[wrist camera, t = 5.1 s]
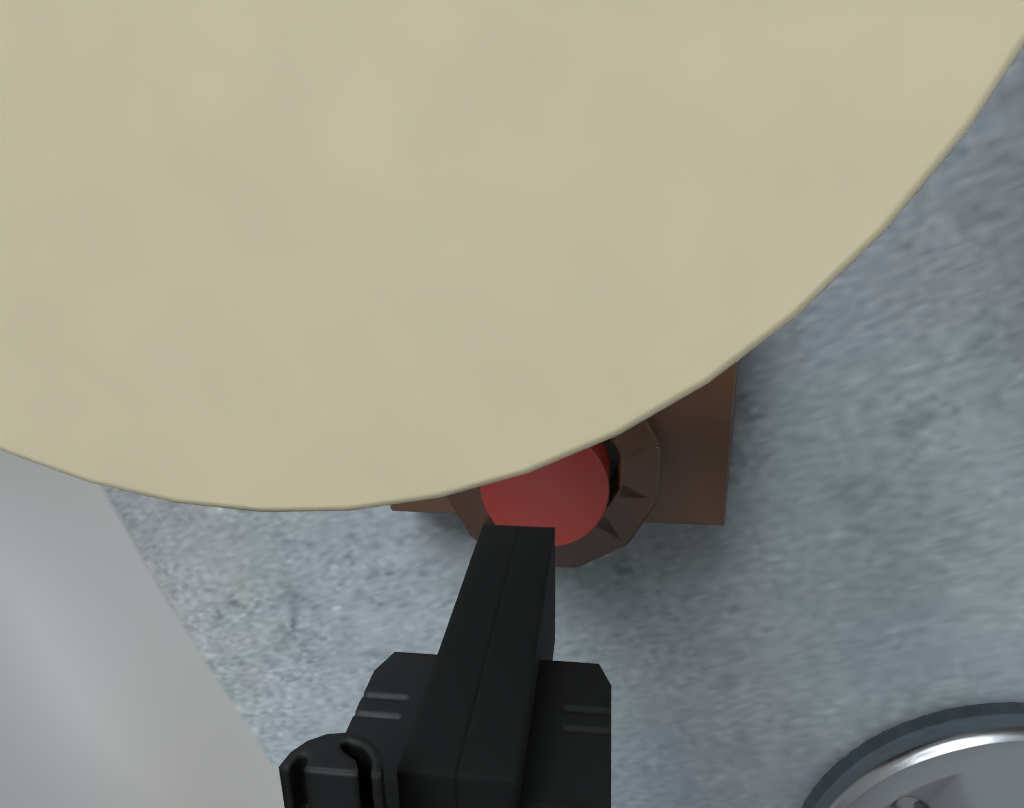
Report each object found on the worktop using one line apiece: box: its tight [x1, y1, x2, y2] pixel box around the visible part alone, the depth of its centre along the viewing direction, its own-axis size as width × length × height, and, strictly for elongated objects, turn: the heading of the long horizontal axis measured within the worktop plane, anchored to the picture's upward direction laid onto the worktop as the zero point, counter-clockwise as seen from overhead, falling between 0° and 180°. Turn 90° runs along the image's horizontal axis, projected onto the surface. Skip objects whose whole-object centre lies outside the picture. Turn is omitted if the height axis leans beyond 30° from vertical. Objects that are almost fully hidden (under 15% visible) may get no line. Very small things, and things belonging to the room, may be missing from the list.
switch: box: [480, 442, 610, 547], centre depth 21 cm, size 4×4×2 cm
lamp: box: [0, 0, 1024, 512], centre depth 11 cm, size 7×7×17 cm
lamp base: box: [391, 361, 738, 568], centre depth 22 cm, size 17×11×4 cm, turn 1°
